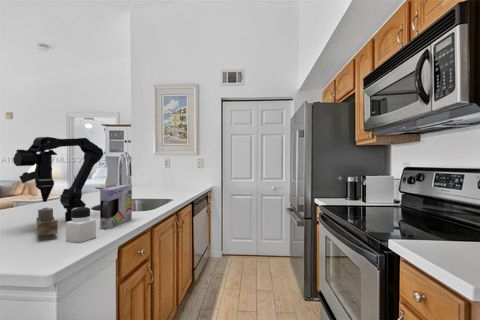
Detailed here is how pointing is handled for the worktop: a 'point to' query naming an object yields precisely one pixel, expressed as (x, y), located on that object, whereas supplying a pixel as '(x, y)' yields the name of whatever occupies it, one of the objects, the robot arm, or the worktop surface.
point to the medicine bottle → (80, 226)
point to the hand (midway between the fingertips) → (44, 200)
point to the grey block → (45, 214)
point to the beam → (47, 227)
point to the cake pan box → (115, 205)
